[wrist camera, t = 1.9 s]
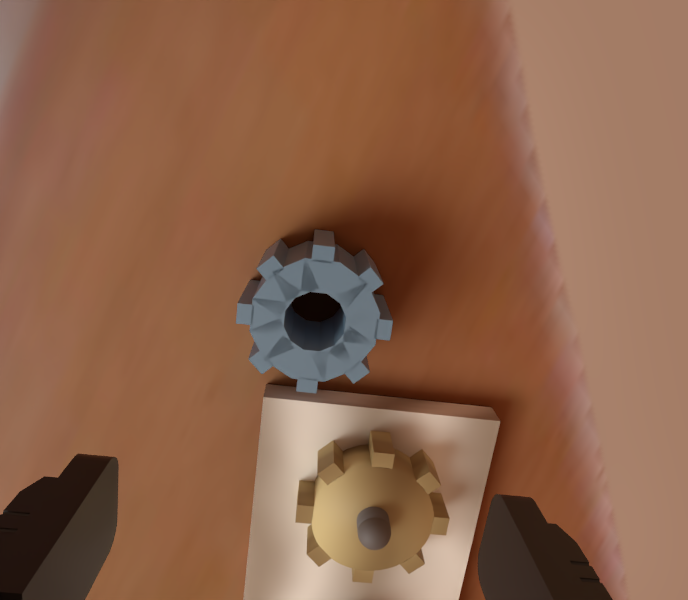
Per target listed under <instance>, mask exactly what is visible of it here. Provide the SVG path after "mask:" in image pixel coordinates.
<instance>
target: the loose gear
mask: <svg viewBox="0 0 688 600" xmlns="http://www.w3.org/2000/svg"><path fill="white" fill-rule="evenodd" d="M257 270H258V271H259V272H260V274H261V275H262V278H261V281H257V280H250V281H249V283H248V285H247V286H246V288H245V290H244V292H243V294H242V296H241V298H240V300H239V302H238V305H237V318H236V323H237V324H246V325H250V332H251V335H252V337H253V339H254V344H253V347H252V350H251V353H250V356H249V360H250V362H251V363H252V364H253V365H254V366H255V367H256V368H257V369H258V370H259V372H260V373H261V374H263V373H264V372H266V371H267V370H268V369H270V368H271V367H272V366H274V367H275V368H277V369H278V370H280V371H281V372H283V373H284V374H286V375H287V376H289V377H290V378H293V379H297V388H296V391H297V392H306V393H317V385H318V381H321V382H325V381H328V380H330V379H333V378H335V377H338V376H340V375H343V374H346V376H347V377H348V378H349V379H350V380H351V381H352V383H353V384H354V383H355V382H357V381H358V380H360V379H361V378H362V377H364V376H365V375H367V374H368V373H369V372H370V371H369V366H368V361H367V356H366V355H367V354H368V353H369V352H370V351H371V349H372V348H373V347H374V346H375V343H376V339H381V340H390V337H391V330H392V324H393V319H392V317H391V314H390V312H389V309H388V306H387V304H386V301H385V299H384V296H383V295H377V294H374V292H373V291H375V290H376V289H377V288H379V287H380V286H381V285H383V284H384V283H383V281H382V279H381V276H380V274H379V272H378V269H377V267H376V264H375V263H374V261H373V260H372V259H371V257H370V256H369V255H368V253H367V252H366V251H365V250H364V249H363V250H362V251H360V252H359V253H358V254H356V255H355V256H352V255H351V254H350V253H348V252H347V251H346V250H344V249H343V248H342V247H340V246H339V245H338V244H335V241H334V232H333V231H325V230H317V229H315V232H314V240H313V241H306V242H304V243H301V244H299V245H297V246H294V247H292V248H290V249H289V248H288V247H287V246H286V244H285V243H284V242H283V241H282V239H280V240H278V241H277V242H276V243H274V244H273V245H272V246H271V247H269V248H268V249H267V250H266V251H265V253H264V255H263V257H262V259H261V261H260V263H259V265H258V267H257ZM309 292H316V293H325V294H328V295H329V296H331V297H332V298H333V299H335V300H336V301H338V302H339V303H340V304H341V307H340V308H339V309H338V311H337V312H336V313H335V314H334V316H333V317H331V318H328V319H326V320H323V321H321V322H318V321H309V320H305V319H304V318H302V317H301V316H300V315H298V314H297V313H295V311H294V309H293V307H292V305H291V303H292V301H293V300H294V299H295V298H296V297H299V296H301V295H304V294H306V293H309Z"/></svg>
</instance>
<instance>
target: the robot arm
mask: <svg viewBox="0 0 688 600" xmlns="http://www.w3.org/2000/svg"><path fill="white" fill-rule="evenodd" d="M117 508H118V460H117V458H116V457H108V456H97V455H87V454H77V455H76V456H75V457H74V458H73V459H72V461H71V462H70V463H69V464H68V466H67V467H66V468H65V469H64V471H63V472H62V473H61V475H60V476H59V477H58V478H55V477H43V478H41V479H40V480H38V481H36V482H35V483H33V484H32V485H30V486H28V487H27V488H25V489H24V490H22V491H20V492H19V493H18V495H17V496H16V497H15V498H14V499H13V500H12V502H11V503H10V504H9V505H8V506H7V507H6V508H5V510H4V512H3V514H2V515H0V600H85V598H86V596H87V595H88V593H89V591H90V589H91V587H92V585H93V583H94V581H95V579H96V577H97V575H98V573H99V571H100V569H101V567H102V566H103V564H104V562H105V560H106V558H107V556H108V554H109V552H110V549H111V547H112V544H113V540H114V536H115V532H116V526H117ZM478 575H479V581H480V585H481V588H482V590H483V593H484V596H485V599H486V600H612V598H611V596H610V595H609V593H608V592H607V590H606V588H605V587H604V585H603V584H602V583H600V582H599V577H598V576H597V574H596V573H595V571H594V569H593V568H592V566H589V562H588V560H587V558H586V557H585V555H584V554H583V552H582V550H581V549H580V547H579V546H578V544H577V543H576V542H575V541H574V540H573V539H572V538H571V537H570V536H569V535H568V534H567V533H565V532H564V531H563V530H562V529H561V528H560V527H559V526H558V525H556V524H549V523H547V521H546V520H545V518H544V516H543V515H542V513H541V511H540V510H539V508H538V506H537V504H536V503H535V501H534V500H533V499H532V498H530V497H521V496H510V495H500V494H496V495H495V496H494V497H493V499H492V501H491V505H490V509H489V513H488V517H487V521H486V525H485V529H484V533H483V537H482V542H481V546H480V550H479V555H478Z"/></svg>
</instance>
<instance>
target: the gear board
mask: <svg viewBox="0 0 688 600" xmlns="http://www.w3.org/2000/svg"><path fill="white" fill-rule="evenodd" d="M296 388H297V387H291V386H281V385H272V384H266V389H265V393H264V397H263V407H262V417H261V427H260V437H259V448H258V458H257V468H256V478H255V488H254V498H253V508H252V518H251V529H250V539H249V549H248V559H247V569H246V579H245V589H244V599H243V600H459V596H460V592H461V588H462V583H463V579H464V575H465V571H466V566H467V562H468V558H469V554H470V549H471V545H472V541H473V536H474V532H475V528H476V524H477V519H478V515H479V511H480V507H481V502H482V498H483V494H484V490H485V485H486V481H487V477H488V472H489V468H490V464H491V460H492V455H493V451H494V447H495V443H496V438H497V434H498V430H499V426H500V420H499V418H498V416H497V415H496V413H495V412H494V410H493V409H492V407H484V406H474V405H464V404H455V403H445V402H435V401H426V400H416V399H407V398H397V397H387V396H378V395H368V394H358V393H349V392H339V391H329V390H320V389H317V393H306V392H297V391H296Z"/></svg>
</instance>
